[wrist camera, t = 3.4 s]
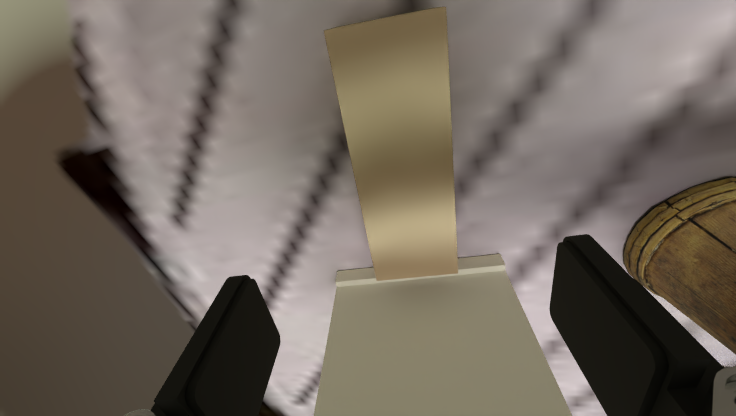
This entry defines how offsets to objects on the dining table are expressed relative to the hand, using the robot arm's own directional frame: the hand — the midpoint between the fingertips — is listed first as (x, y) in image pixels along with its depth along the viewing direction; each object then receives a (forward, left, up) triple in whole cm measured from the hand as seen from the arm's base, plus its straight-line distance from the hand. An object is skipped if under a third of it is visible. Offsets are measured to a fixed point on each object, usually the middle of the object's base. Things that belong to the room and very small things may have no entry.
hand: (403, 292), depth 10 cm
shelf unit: (+19, 0, -11) cm, 22 cm away
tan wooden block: (0, 0, -12) cm, 12 cm away
